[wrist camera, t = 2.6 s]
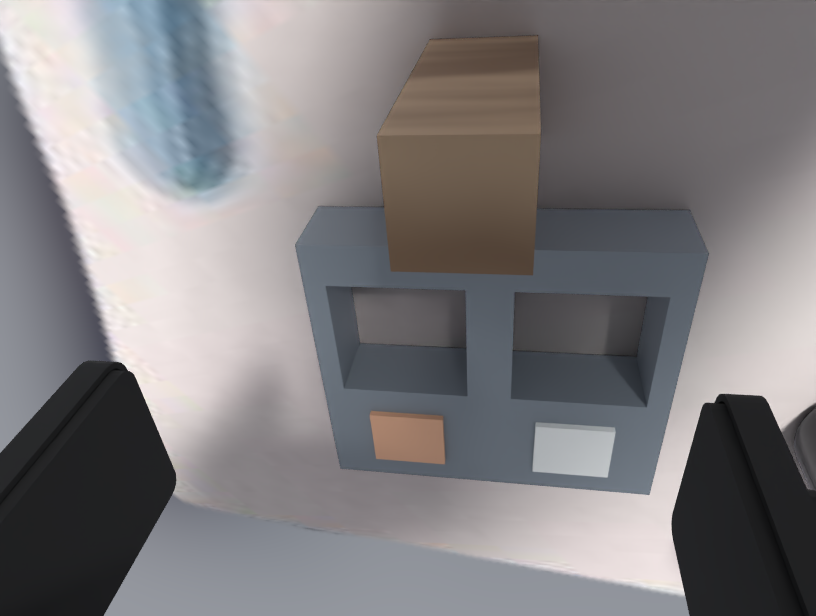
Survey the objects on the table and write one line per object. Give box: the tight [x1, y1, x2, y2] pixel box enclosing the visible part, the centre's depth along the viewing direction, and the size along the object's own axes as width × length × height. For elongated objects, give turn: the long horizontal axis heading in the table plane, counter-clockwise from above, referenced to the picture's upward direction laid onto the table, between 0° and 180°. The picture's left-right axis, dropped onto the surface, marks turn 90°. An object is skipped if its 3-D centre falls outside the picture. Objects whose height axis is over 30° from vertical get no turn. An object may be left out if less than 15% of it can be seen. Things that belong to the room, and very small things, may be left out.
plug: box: [377, 35, 541, 275], centre depth 20 cm, size 4×4×10 cm
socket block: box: [295, 206, 709, 495], centre depth 30 cm, size 14×16×4 cm
